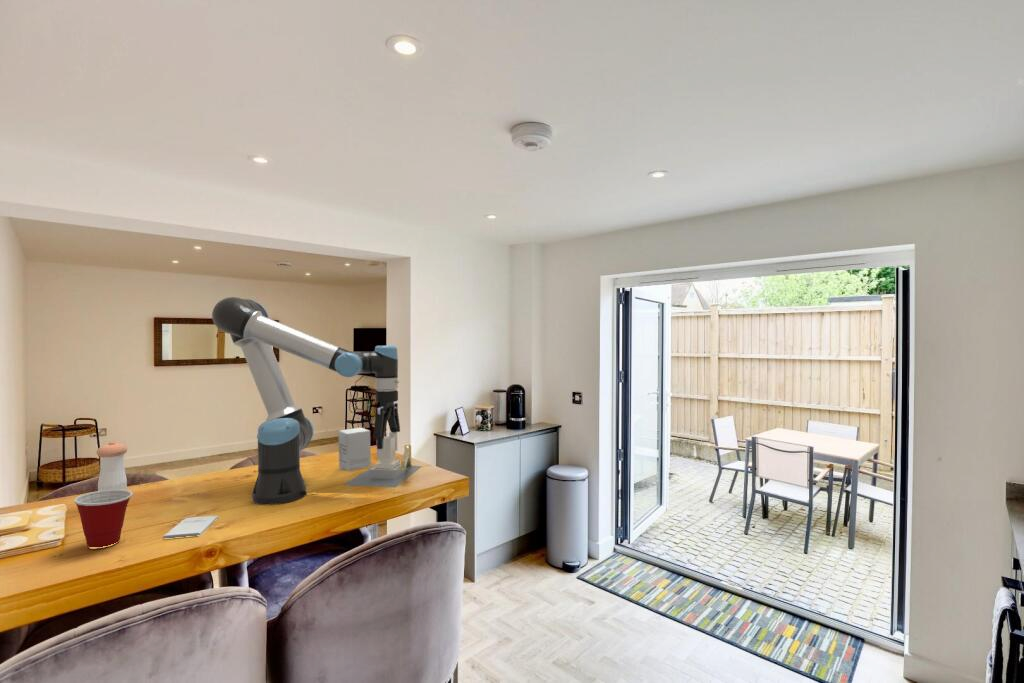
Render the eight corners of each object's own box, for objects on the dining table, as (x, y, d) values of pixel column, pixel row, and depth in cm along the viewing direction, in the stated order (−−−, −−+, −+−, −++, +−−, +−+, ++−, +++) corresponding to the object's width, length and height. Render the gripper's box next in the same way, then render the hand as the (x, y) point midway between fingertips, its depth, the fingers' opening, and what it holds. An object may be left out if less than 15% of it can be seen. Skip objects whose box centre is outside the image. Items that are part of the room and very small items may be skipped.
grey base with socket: (342, 489, 159) (342, 476, 159) (376, 468, 184) (375, 456, 184) (395, 492, 156) (395, 477, 156) (422, 470, 182) (422, 458, 182)
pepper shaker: (116, 510, 141) (115, 443, 141) (90, 511, 141) (89, 444, 141) (134, 501, 148) (133, 438, 148) (109, 502, 148) (108, 439, 148)
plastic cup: (112, 553, 112) (111, 501, 112) (61, 555, 111) (61, 503, 111) (144, 534, 123) (143, 487, 123) (98, 536, 122) (97, 488, 122)
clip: (399, 484, 157) (399, 461, 157) (404, 464, 182) (404, 445, 182) (406, 484, 158) (406, 461, 158) (411, 464, 183) (411, 444, 183)
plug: (375, 477, 167) (374, 439, 167) (382, 472, 174) (382, 435, 174) (392, 478, 166) (392, 439, 166) (399, 472, 173) (399, 435, 173)
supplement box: (361, 465, 189) (361, 427, 189) (371, 470, 182) (371, 430, 182) (338, 470, 183) (337, 429, 183) (347, 475, 176) (346, 433, 176)
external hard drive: (162, 542, 120) (184, 523, 132) (200, 539, 122) (218, 520, 134) (162, 535, 120) (184, 517, 132) (200, 532, 122) (218, 514, 134)
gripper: (383, 393, 158) (384, 462, 158) (408, 386, 180) (409, 447, 181) (361, 393, 159) (362, 462, 159) (389, 386, 182) (389, 446, 182)
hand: (387, 454), depth 170 cm, fingers open, 10 cm apart
